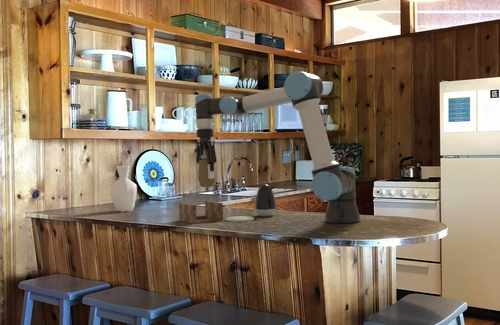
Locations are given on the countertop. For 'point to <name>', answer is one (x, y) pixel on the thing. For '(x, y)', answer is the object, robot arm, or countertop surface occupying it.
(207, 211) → the holder
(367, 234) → the countertop surface
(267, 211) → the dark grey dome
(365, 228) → the countertop surface
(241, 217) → the plate
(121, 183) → the vase
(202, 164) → the squeeze bottle
